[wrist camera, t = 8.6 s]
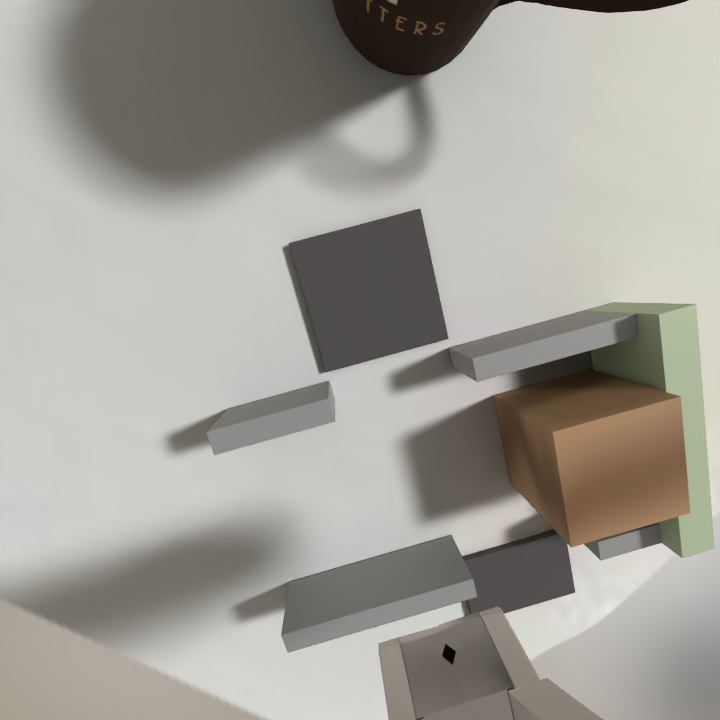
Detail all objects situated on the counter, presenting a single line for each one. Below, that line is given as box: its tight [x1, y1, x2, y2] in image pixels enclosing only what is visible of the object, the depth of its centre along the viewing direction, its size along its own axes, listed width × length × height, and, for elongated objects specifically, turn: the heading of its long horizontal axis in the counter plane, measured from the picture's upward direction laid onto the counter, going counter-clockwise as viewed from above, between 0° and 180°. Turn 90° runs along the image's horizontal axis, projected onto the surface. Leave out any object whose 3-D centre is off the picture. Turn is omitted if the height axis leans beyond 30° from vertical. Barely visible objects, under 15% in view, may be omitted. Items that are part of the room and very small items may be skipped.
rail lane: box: [206, 302, 714, 653], centre depth 16 cm, size 11×20×4 cm, turn 105°
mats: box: [289, 209, 575, 614], centre depth 18 cm, size 22×10×1 cm, turn 15°
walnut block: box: [493, 369, 690, 547], centre depth 16 cm, size 5×5×5 cm
